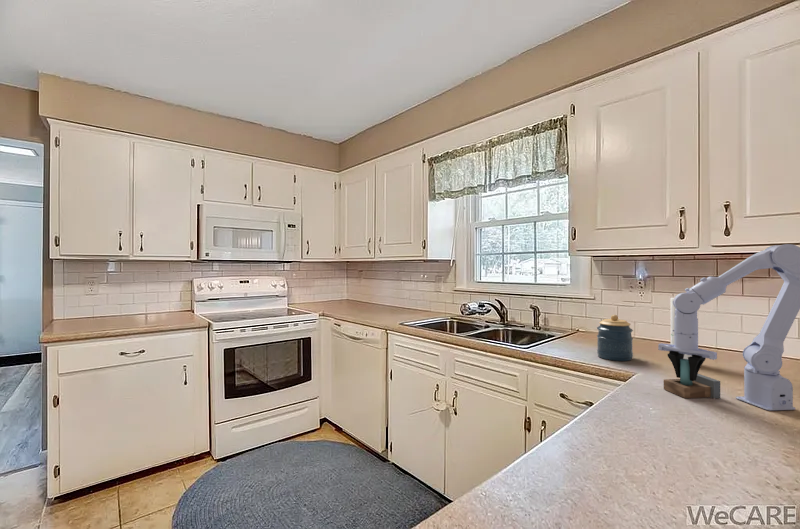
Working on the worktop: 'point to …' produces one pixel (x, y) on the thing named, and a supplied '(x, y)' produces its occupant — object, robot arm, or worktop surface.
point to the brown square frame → (687, 389)
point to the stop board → (710, 384)
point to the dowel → (685, 373)
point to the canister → (614, 339)
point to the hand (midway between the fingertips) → (686, 378)
